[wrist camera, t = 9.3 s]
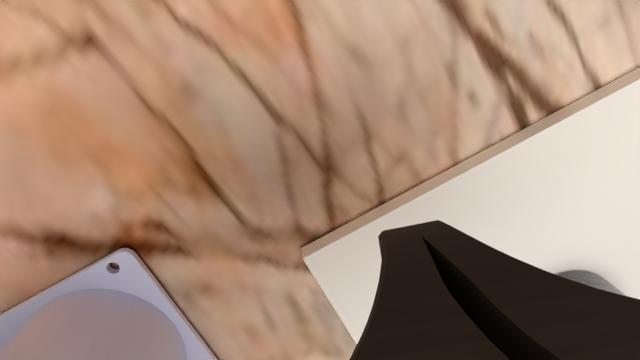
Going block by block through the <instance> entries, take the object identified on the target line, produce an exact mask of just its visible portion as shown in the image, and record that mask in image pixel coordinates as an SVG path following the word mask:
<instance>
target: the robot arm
mask: <svg viewBox="0 0 640 360" xmlns="http://www.w3.org/2000/svg"><path fill="white" fill-rule="evenodd" d="M378 239H379V246H380V252H381V259H382V261H381V269H380V277H379V282H378V286H377V291H376V295H375V299H374V303H373V306H372V309H371V312H370V315H369V318H368V321H367V323H366V326H365V328H364V331H363V333H362V335H361V338H360V340H359V342H358V344H357V346H356V348H355V350H354V352H353V354H352V356H351V358H350V360H640V299H636V298H632V297H628V296H624V295H620V294H616V293H612V292H609V291H605V290H601V289H598V288H594V287H591V286H588V285H585V284H582V283H579V282H576V281H573V280H570V279H567V278H564V277H561V276H558V275H555V274H553V273H550V272H547V271H545V270H542V269H540V268H537V267H535V266H533V265H530V264H528V263H525V262H523V261H521V260H518V259H516V258H514V257H512V256H509V255H507V254H505V253H503V252H501V251H499V250H497V249H495V248H493V247H491V246H489V245H487V244H485V243H483V242H481V241H479V240H477V239H475V238H473V237H471V236H469V235H467V234H465V233H463V232H462V231H460V230H458V229H456V228H454V227H452V226H450V225H448V224H446V223H444V222H442V221H439V220H436V221H431V222H426V223H420V224H415V225H410V226H405V227H400V228H395V229H389V230H384V231H382V232H381V233H380V235H379V236H378ZM112 262H113V263H117V264H118V265H119V267H120V269H113V268H112V267H111V266H110V264H109V263H112ZM0 360H218V359H217V358H216V357H215V355H214V354H213V353H212V352H211V350H210V349H209V348H208V346H207V345H206V344H205V342H204V341H203V340H202V339H201V337H200V336H199V335H198V333H197V332H196V331H195V329H194V328H193V327H192V326H191V324H190V323H189V322H188V320H187V319H186V318H185V316H184V315H183V314H182V312H181V311H180V310H179V309H178V307H177V306H176V305H175V303H174V302H173V301H172V299H171V298H170V297H169V296H168V294H167V293H166V292H165V290H164V289H163V288H162V286H161V285H160V284H159V283H158V281H157V280H156V279H155V277H154V276H153V275H152V273H151V272H150V271H149V269H148V268H147V267H146V266H145V264H144V263H143V262H142V260H141V259H140V258H139V256H138V255H137V254H136V253H135V252H134V251H133V250H131V249H129V248H121V249H118V250H116V251H115V252H113V253H111V254H109V255H107V256H106V257H104V258H102V259H100V260H98V261H96V262H95V263H93V264H91V265H89V266H87V267H86V268H84V269H82V270H80V271H78V272H76V273H75V274H73V275H71V276H69V277H67V278H66V279H64V280H62V281H60V282H58V283H57V284H55V285H53V286H51V287H49V288H47V289H46V290H44V291H42V292H40V293H38V294H37V295H35V296H33V297H31V298H29V299H28V300H26V301H24V302H22V303H20V304H18V305H17V306H15V307H13V308H11V309H9V310H8V311H6V312H4V313H2V314H0Z"/></svg>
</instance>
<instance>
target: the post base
mask: <svg viewBox="0 0 640 360" xmlns="http://www.w3.org/2000/svg"><path fill="white" fill-rule="evenodd" d="M436 220H439V221H442V222H444V223H446V224H448V225H450V226H452V227H454V228H456V229H458V230H460V231H462V232H463V233H465V234H467V235H469V236H471V237H473V238H475V239H477V240H479V241H481V242H483V243H485V244H487V245H489V246H491V247H493V248H495V249H497V250H499V251H501V252H503V253H505V254H507V255H509V256H512V257H514V258H516V259H518V260H521V261H523V262H525V263H528V264H530V265H533V266H535V267H537V268H540V269H542V270H545V271H547V272H550V273H553V274H555V275H561V274H564V273H569V272H577V271H578V272H590V273H594V274H597V275H599V276H601V277H603V278H604V279H606V280H607V281H609V282H610V283H611V284H612V285H614V286H615V287H616V288H617V289H619V290H620V291H621V292H622V293H624V294H625V295H626V296H628V297H632V298H636V299H640V67H639V68H637V69H635V70H633V71H631V72H629V73H627V74H626V75H624V76H622V77H620V78H618V79H616V80H614V81H612V82H611V83H609V84H607V85H605V86H603V87H601V88H599V89H598V90H596V91H594V92H592V93H590V94H588V95H586V96H584V97H583V98H581V99H579V100H577V101H575V102H573V103H571V104H569V105H568V106H566V107H564V108H562V109H560V110H558V111H556V112H555V113H553V114H551V115H549V116H547V117H545V118H543V119H541V120H540V121H538V122H536V123H534V124H532V125H530V126H528V127H526V128H525V129H523V130H521V131H519V132H517V133H515V134H513V135H512V136H510V137H508V138H506V139H504V140H502V141H500V142H498V143H497V144H495V145H493V146H491V147H489V148H487V149H485V150H484V151H482V152H480V153H478V154H476V155H474V156H472V157H470V158H469V159H467V160H465V161H463V162H461V163H459V164H457V165H455V166H454V167H452V168H450V169H448V170H446V171H444V172H442V173H441V174H439V175H437V176H435V177H433V178H431V179H429V180H427V181H426V182H424V183H422V184H420V185H418V186H416V187H414V188H412V189H411V190H409V191H407V192H405V193H403V194H401V195H399V196H398V197H396V198H394V199H392V200H390V201H388V202H386V203H384V204H383V205H381V206H379V207H377V208H375V209H373V210H371V211H370V212H368V213H366V214H364V215H362V216H360V217H358V218H356V219H355V220H353V221H351V222H349V223H347V224H345V225H343V226H341V227H340V228H338V229H336V230H334V231H332V232H330V233H328V234H327V235H325V236H323V237H321V238H319V239H317V240H315V241H313V242H312V243H310V244H308V245H306V246H304V247H302V248H301V251H302V258H303V260H304V262H305V263H306V265H307V267H308V268H309V270H310V271H311V273H312V274H313V276H314V278H315V279H316V281H317V282H318V284H319V286H320V287H321V289H322V290H323V292H324V294H325V295H326V297H327V298H328V300H329V301H330V303H331V305H332V306H333V308H334V309H335V311H336V313H337V314H338V316H339V317H340V319H341V321H342V322H343V324H344V325H345V327H346V328H347V330H348V332H349V333H350V335H351V336H352V338H353V340H354V341H355V343H356V344H358V342H359V340H360V338H361V335H362V333H363V331H364V328H365V326H366V323H367V321H368V318H369V315H370V312H371V309H372V306H373V303H374V299H375V295H376V291H377V286H378V282H379V277H380V269H381V261H382V259H381V252H380V246H379V239H378V236H379V235H380V233H381V232H382V231H384V230H389V229H395V228H400V227H405V226H410V225H415V224H420V223H426V222H431V221H436Z"/></svg>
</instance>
